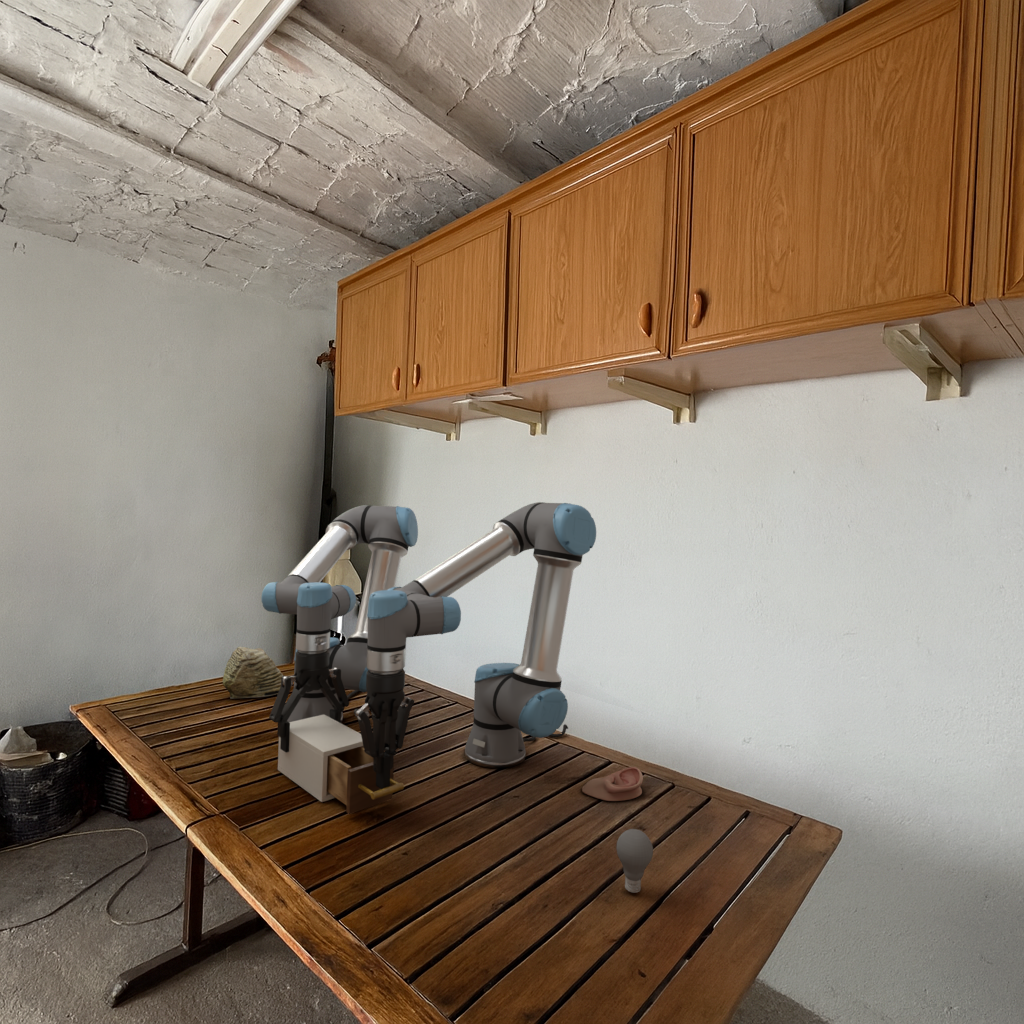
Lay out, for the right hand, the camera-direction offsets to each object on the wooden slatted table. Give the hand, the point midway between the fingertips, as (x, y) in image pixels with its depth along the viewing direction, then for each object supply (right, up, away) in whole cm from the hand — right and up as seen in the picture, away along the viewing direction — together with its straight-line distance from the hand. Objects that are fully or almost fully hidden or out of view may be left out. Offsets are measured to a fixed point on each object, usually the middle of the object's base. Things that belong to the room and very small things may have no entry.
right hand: (382, 786), depth 126 cm
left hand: (-21, +1, +21) cm, 30 cm away
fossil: (-55, -3, +72) cm, 90 cm away
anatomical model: (+48, -8, +16) cm, 52 cm away
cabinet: (-17, -5, +16) cm, 24 cm away
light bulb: (+46, -9, -20) cm, 51 cm away
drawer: (-7, -5, +7) cm, 11 cm away
